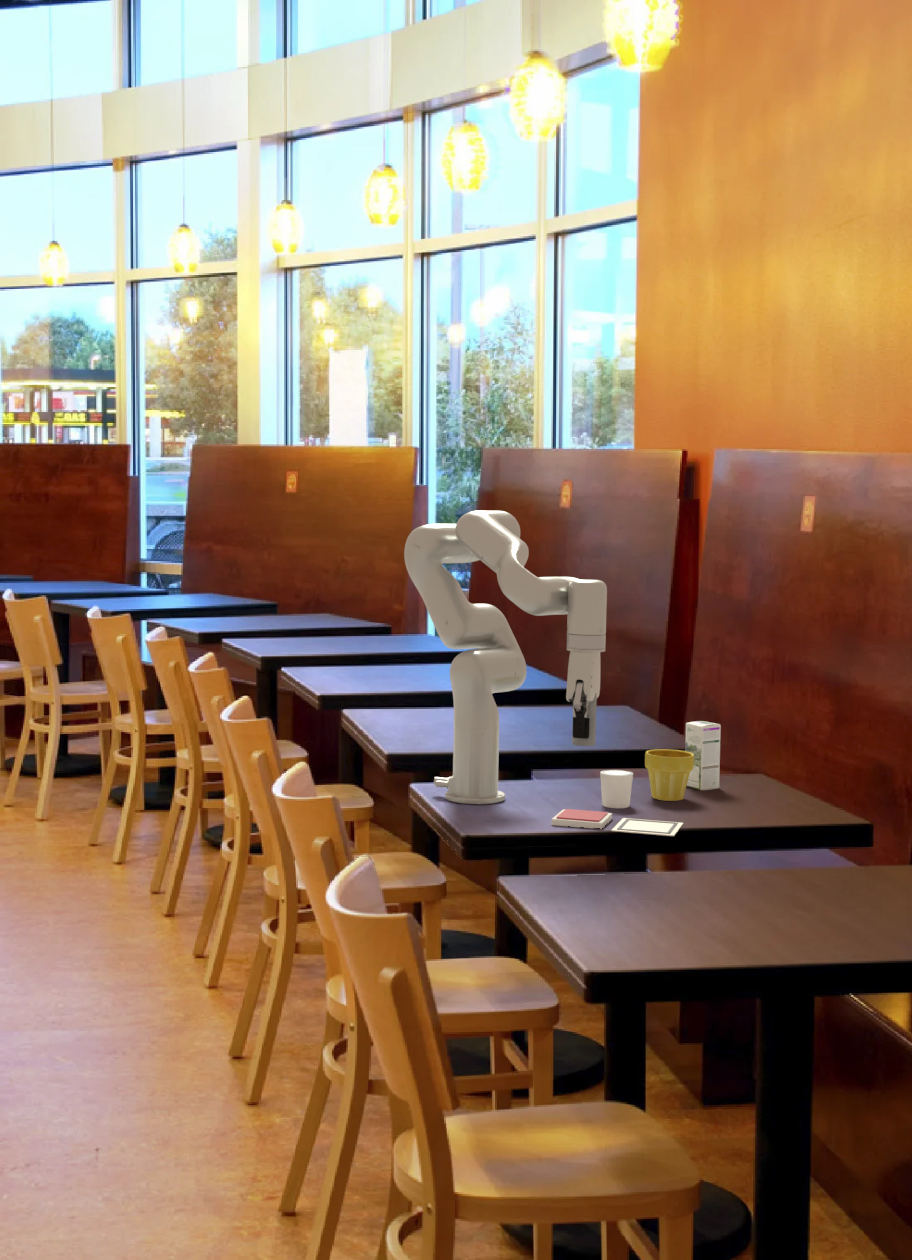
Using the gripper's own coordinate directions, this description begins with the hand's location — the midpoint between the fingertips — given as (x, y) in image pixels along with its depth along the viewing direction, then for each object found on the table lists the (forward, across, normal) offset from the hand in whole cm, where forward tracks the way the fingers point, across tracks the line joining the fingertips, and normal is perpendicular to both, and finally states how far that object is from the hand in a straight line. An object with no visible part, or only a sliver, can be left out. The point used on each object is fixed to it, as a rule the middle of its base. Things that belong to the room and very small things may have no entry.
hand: (583, 735), depth 299 cm
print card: (+17, 0, +13) cm, 22 cm away
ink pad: (+17, 0, 0) cm, 17 cm away
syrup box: (+17, -46, +17) cm, 52 cm away
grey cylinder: (+2, 0, 0) cm, 2 cm away
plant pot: (+17, -31, +12) cm, 38 cm away
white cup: (+17, -19, +3) cm, 26 cm away
